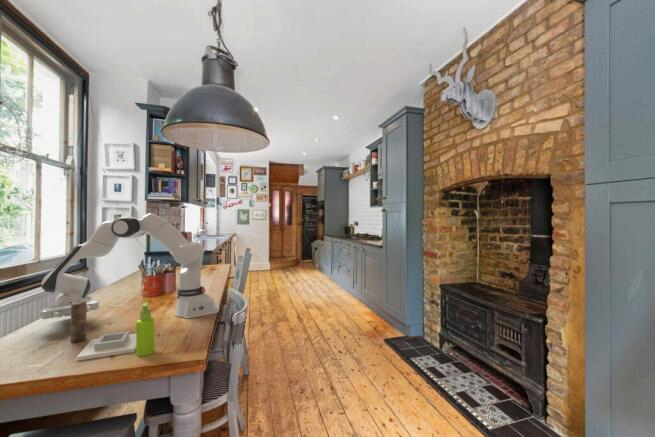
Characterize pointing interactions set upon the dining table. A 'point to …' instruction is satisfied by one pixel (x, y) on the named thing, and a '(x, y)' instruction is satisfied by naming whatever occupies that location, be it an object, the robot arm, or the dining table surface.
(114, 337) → the stool seat
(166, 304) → the dining table surface
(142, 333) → the soap dispenser
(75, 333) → the walnut leg
